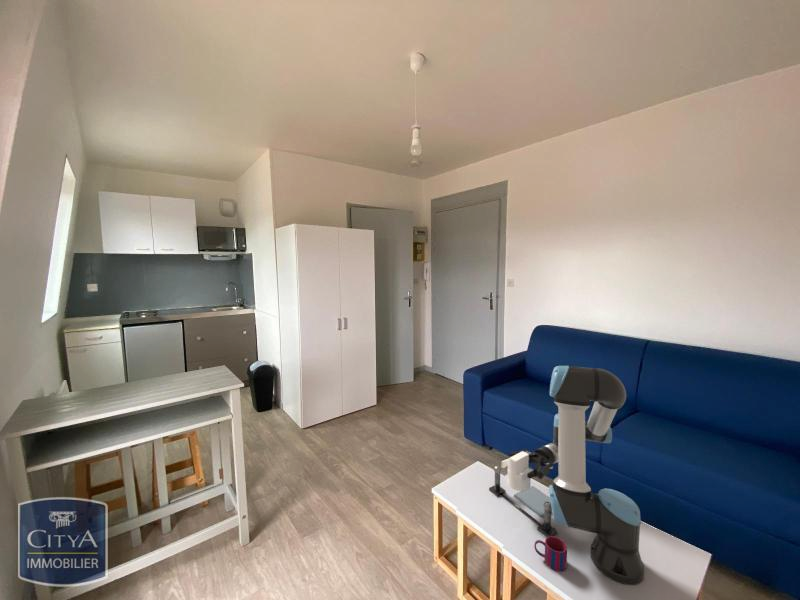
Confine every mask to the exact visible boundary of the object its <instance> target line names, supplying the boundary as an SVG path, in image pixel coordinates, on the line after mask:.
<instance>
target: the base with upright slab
mask: <svg viewBox="0 0 800 600" xmlns="http://www.w3.org/2000/svg"><path fill="white" fill-rule="evenodd" d="M521 451H522V452H520V453H518V454H516V455H514V456H512V457H510V463H509V466H507V475H506V477H507V478H506V479H507V480H506V481H507V482H506V483H507V485H508V487H510V488H511V489H513V490H515V491H518V492H521V491H527V490H529V489H530V487H531V482H532V481H531V479H532V478H528V479H525V480H523V481H520V473H523V472H525V471H527V470H530V469H531V468H529V464H530V463H529V460H530V457H529V454H528V453H526V452H523V450H521Z"/></svg>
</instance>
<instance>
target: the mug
mask: <svg viewBox="0 0 800 600" xmlns="http://www.w3.org/2000/svg"><path fill="white" fill-rule="evenodd" d="M537 544H541V545H543V546H544V553H542V552H541V551H540V550H538V549H537ZM534 551H535V552H536V554H538V555H539V556H541V557H542V558H544V562H545V564H546V566H547V567H548V568H549V569H552V570H553V571H555V572H565V571H566V570H567V568H568V567H567V566H568V545H567V543H566V542H565V541H564V539H561V538H559V537H557V536H550V537H546V538H545V541H543V540H540V539H536V540H535V542H534Z"/></svg>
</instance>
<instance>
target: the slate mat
mask: <svg viewBox="0 0 800 600" xmlns="http://www.w3.org/2000/svg"><path fill="white" fill-rule="evenodd" d="M513 497H514V498H515V499H517V501H519V502H520V503H521V504H523V505H524V506H525V507H527V508H528V509H529V510H530V511H532V512H533V513H535V515H537V516H538V517H540V518H544V506H543V505H544V503H545V502H547V501H548V502H550V503H551V501H550V496H548V495H547V494H545V493H544V492H543V491H541V490H540V489H538V488H537V487H536V486H534V485H531V486H530V489H529V490H527V491H518V492H517V493H514V494H513ZM551 513H552V511H551Z"/></svg>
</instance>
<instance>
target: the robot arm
mask: <svg viewBox="0 0 800 600" xmlns="http://www.w3.org/2000/svg"><path fill="white" fill-rule="evenodd" d="M549 396H550V397H552V398H553V403H554V404H555V405H556V406H557V408H558V410H557V411H558V412H557V413H556V414H555V415H554V417H553V418H554V419H553V440H552V442H550V443H548V444H546V445H543V446H541V447H539V448H536V450H534V451H533V452H532V451H531V452H530V451H529V449H528V448H525V449H523V450H518V451H514V452H513V451H512V452H509V453H508V457H507V458H505V459H504V460H502V461H501V464H500V466H501V467H500V468H501V469H504V468H508V466H509V463H510V457H512V456H514V455H516V454H518V453H520V452H522V451H523V452H526V453H528V454H529V464H534V468H529V469H530V470H527V471H525V472H523V473H520V481H523V480H525V479H528V478H531V479H532V478H534V477H535V478H536V477H537V478H538V479H540V480H541V479H543V478H544V477H545V476H546V475H547V474H548V473H550V472H553V470H554V464H557V465H558V466H557V468H558V469H557V470H558V472H557V473H558V475H557V476H556V477H555V478H554V479H553V484H549V485H548V488H549V489H548V491H549V497H550V501H551V508H552V512H551V516H552V519H553V520H554V523H556V524H557V525H560V526H564V527H567V528H571V529H576V530H579V531H580V530H581V531H585V532H588V533H594V534H596V535H595V537H594V539H593V541H592V543H591V545H590V551H589V552H590V553H589V555H590V560H591V563H593V564H594V566H595V568H596V569H597V570H598V571H600V572H601V573H602V574H603V575H605V576H606V577H607V578H610V579H611V580H612V581H615V582H618V583H620V584H623V585H630V586H631V585H639V584H641V583H642V582H643V581H644V579H645V566H644V565H645V564H644V562H643V560H642V558H641V552H640V550H639V549H640V535H641V534H640V533H641V531H640V530H641V523H642V521H641V520H642V519H641V511H640V508H639V506H638V504H637V503H636V502H635V500H633V499H632V498H630V497H629V496H627V495H626V494H624V493H622V492H620V491H618V490H615V489H612V488H601V489H600V490H599V491H598V493H593V492H592V488H591V486H590V485H589V484H588V483H587V481H586V480H587V479H586V477H587V476H586V472H587V470H586V469H587V467H586V441H587V442H588V441H590V442H596V443H600V444H611V442H612V441H613V431H612V427H611V424H612V422H613V420H614V417H615V416H616V414H617V411H618V410H619V409H621V408H622V407H623V406H624V404H625V402H626V400H627V391H626V388H625V386H624V384H623V383H622V381H621V380H620V378H618V376H616V375H615V374H613V373H612V372H610V371H608V370H606V369H603V368H597V367H596V368H595V367H594V368H593V367H582V366H573V365H570V366H569V365H557V366H555V367H553V370H552V373H551V379H550V384H549ZM591 402H594V403H593V406H592V407H591ZM589 408H592V410H591V411H590V414H589V417H588V420H587V421H586V411H587V410H588V409H589Z"/></svg>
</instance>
